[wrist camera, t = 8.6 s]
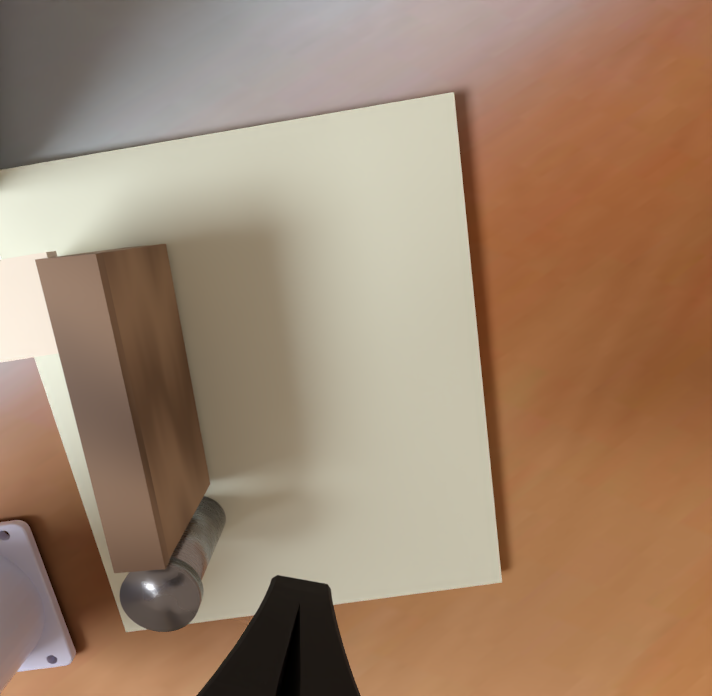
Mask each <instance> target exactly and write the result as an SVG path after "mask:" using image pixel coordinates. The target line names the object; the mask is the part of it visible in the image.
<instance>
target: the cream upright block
mask: <svg viewBox="0 0 712 696" xmlns="http://www.w3.org/2000/svg"><path fill="white" fill-rule="evenodd" d="M50 257H58V256H57V253H56V251H51V252H43V253H37V254H31V255H25V256H19V257H13V258H7V259H1V260H0V362H6V361H13V360H19V359H25V358H32V357H38V356H45V355H51V354H58V349H57V345H56V341H55V337H54V333H53V329H52V325H51V321H50V317H49V313H48V309H47V305H46V301H45V297H44V294H43V290H42V286H41V282H40V278H39V274H38V270H37V266H36V262H35V259H42V258H50Z"/></svg>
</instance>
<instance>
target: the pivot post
mask: <svg viewBox="0 0 712 696" xmlns="http://www.w3.org/2000/svg"><path fill="white" fill-rule="evenodd" d="M225 523H226V516H225V512H224V510H223V508H222V507H221V506H220V504H219V503H217V502H216V501H215V500H213V499H211V498H209V497H205V496H203V498H202V500H201V502H200V504H199V506H198V507H197V509H196V511H195V513H194V515H193V517H192V519H191V520H190V522H189V524H188V526H187V528H186V530H185V531H184V533H183V535H182V537H181V539H180V541H179V542H178V544H177V546H176V548H175V550H174V552H173V553H172V555H171V557H170V559H169V560H170V562H169V563H168V565H167V567H166V569H162V570H149V571H137V572H129V573H128V575H127V576H126V578H125V579H124V581H123V583H122V585H121V588H120V595H119V596H120V602H121V606H122V608H123V610H124V612H125V613H126V614H127V616H128V617H129V618H130V619H131V620H132V621H134V622H135V623H136V624H138V625H139V626H141V627H143V628H146V629H149V630H152V631H158V632H169V631H174V630H178V629H180V628H182V627H184V626H186V625H187V624H189V623H190V622H191V621H192V620H193V619H194V617H195V616H196V614H197V612H198V609H199V607H200V604H201V602H202V599H203V593H204V589H203V584H202V578H203V576H204V573H205V571H206V569H207V566H208V564H209V562H210V559H211V557H212V555H213V552H214V550H215V547H216V545H217V543H218V540H219V538H220V536H221V533H222V531H223V529H224V526H225Z"/></svg>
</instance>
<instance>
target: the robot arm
mask: <svg viewBox="0 0 712 696" xmlns="http://www.w3.org/2000/svg"><path fill="white" fill-rule="evenodd" d="M5 531H6V532H8V533H9V535H8V534H6V533H5ZM75 655H76V650H75V648H74V645H73V642H72V640H71V637H70V634H69V632H68V629H67V626H66V623H65V621H64V618H63V615H62V613H61V610H60V607H59V605H58V602H57V599H56V596H55V594H54V591H53V588H52V586H51V583H50V580H49V577H48V575H47V572H46V569H45V567H44V564H43V561H42V559H41V556H40V553H39V550H38V548H37V545H36V542H35V540H34V537H33V534H32V532H31V529H30V527H29V525H28V524H27V523H26V522H24V521H21V520H12V521H5V522H0V693H1V692H2V691H3V689H4V688H5V687H6V685H7V684H8V683H9V681H10V680H11V679H12V677H13V676H14V675H15V673H16V672H20V671H27V670H35V669H43V668H50V667H58V666H66V665H69V664H70V663H71V662H72V661H73V659H74V658H75ZM197 696H360V693H359V691H358V688H357V685H356V683H355V680H354V677H353V674H352V671H351V669H350V665H349V662H348V659H347V656H346V653H345V649H344V646H343V643H342V640H341V636H340V632H339V628H338V624H337V620H336V616H335V611H334V606H333V601H332V594H331V588H330V587H329V585H328V584H325V583H319V582H314V581H308V580H303V579H297V578H291V577H286V576H280V575H277V576H275V577H273V578H272V579H271V582H270V585H269V588H268V590H267V592H266V595H265V597H264V599H263V601H262V602H261V604H260V606H259V608H258V610H257V611H256V613H255V615H254V617H253V618H252V620H251V622H250V623H249V625H248V626H247V628H246V629H245V631H244V633H243V634H242V636H241V637H240V639H239V640H238V642H237V643H236V645H235V646H234V648H233V649H232V650H231V652H230V653H229V654H228V656H227V657H226V659H225V660H224V661H223V663H222V664H221V665H220V667H219V668H218V669H217V671H216V672H215V674H214V675H213V676H212V677H211V679H210V680H209V681H208V682H207V684H206V685H205V686H204V687H203V689H202V690H201V691H200V692H199V693H198V695H197Z"/></svg>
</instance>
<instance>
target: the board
mask: <svg viewBox="0 0 712 696" xmlns="http://www.w3.org/2000/svg"><path fill="white" fill-rule="evenodd" d="M157 244H166V247H167V252H168V258H169V263H170V269H171V274H172V279H173V285H174V290H175V296H176V301H177V306H178V312H179V317H180V323H181V328H182V333H183V339H184V344H185V350H186V355H187V360H188V366H189V371H190V377H191V382H192V387H193V393H194V398H195V404H196V409H197V414H198V420H199V425H200V431H201V436H202V441H203V447H204V452H205V458H206V463H207V468H208V474H209V479H210V485H209V487H208V489H207V491H206V493H205V495H204V496H205V497H209V498H211V499H213V500H215V501H216V502H217V503H219V504H220V506H221V507H222V508H223V510H224V512H225V516H226V523H225V526H224V529H223V531H222V533H221V536H220V538H219V540H218V543H217V545H216V547H215V550H214V552H213V555H212V557H211V559H210V562H209V564H208V566H207V569H206V571H205V573H204V576H203V578H202V584H203V589H204V593H203V599H202V602H201V604H200V607H199V609H198V612H197V614H196V616H195V617H194V619H193V620H192V621H191V622H190V623H189V624H192V623H200V622H207V621H215V620H222V619H230V618H237V617H245V616H252V615H255V613H256V611H257V610H258V608H259V606H260V604H261V602H262V601H263V599H264V597H265V595H266V592H267V590H268V588H269V585H270V582H271V579H272V578H273V577H275V576H277V575H280V576H286V577H291V578H297V579H303V580H308V581H314V582H319V583H325V584H328V585H329V587H330V588H331V594H332V601H333V605H335V604H343V603H351V602H358V601H366V600H373V599H381V598H388V597H396V596H403V595H411V594H418V593H426V592H434V591H441V590H449V589H456V588H464V587H471V586H479V585H486V584H494V583H501V582H502V576H501V566H500V556H499V546H498V536H497V525H496V515H495V505H494V495H493V485H492V474H491V464H490V454H489V444H488V434H487V423H486V413H485V403H484V393H483V383H482V373H481V362H480V352H479V342H478V332H477V322H476V311H475V301H474V291H473V281H472V271H471V260H470V250H469V240H468V230H467V220H466V209H465V199H464V189H463V179H462V169H461V159H460V148H459V138H458V128H457V118H456V108H455V97H454V92H451V93H445V94H439V95H434V96H428V97H422V98H416V99H410V100H404V101H399V102H393V103H387V104H381V105H375V106H369V107H364V108H358V109H352V110H346V111H340V112H334V113H329V114H323V115H317V116H311V117H305V118H299V119H294V120H288V121H282V122H276V123H270V124H264V125H259V126H253V127H247V128H241V129H235V130H230V131H224V132H218V133H212V134H206V135H200V136H195V137H189V138H183V139H177V140H171V141H165V142H160V143H154V144H148V145H142V146H136V147H130V148H125V149H119V150H113V151H107V152H101V153H95V154H90V155H84V156H78V157H72V158H66V159H60V160H55V161H49V162H43V163H37V164H31V165H25V166H20V167H14V168H8V169H2V170H0V257H1V259H7V258H13V257H19V256H25V255H31V254H37V253H43V252H51V251H56V253H57V256H65V255H73V254H80V253H88V252H95V251H103V250H110V249H117V248H125V247H136V246H146V245H157ZM34 358H35V361H36V364H37V367H38V370H39V373H40V376H41V379H42V382H43V385H44V388H45V391H46V394H47V397H48V400H49V403H50V406H51V409H52V412H53V415H54V418H55V421H56V424H57V427H58V430H59V433H60V436H61V439H62V442H63V445H64V448H65V451H66V454H67V457H68V460H69V463H70V466H71V469H72V472H73V475H74V478H75V481H76V484H77V487H78V490H79V493H80V496H81V499H82V502H83V505H84V508H85V511H86V514H87V517H88V520H89V523H90V526H91V529H92V532H93V535H94V538H95V541H96V544H97V547H98V550H99V553H100V556H101V559H102V562H103V565H104V568H105V571H106V574H107V577H108V580H109V583H110V586H111V589H112V592H113V595H114V598H115V601H116V604H117V607H118V610H119V613H120V616H121V619H122V622H123V625H124V628H125V631H126V632H132V631H139V630H147V629H146V628H143V627H141V626H139V625H138V624H136V623H135V622H134V621H132V620H131V619H130V618H129V617H128V616H127V614H126V613H125V612H124V610H123V608H122V606H121V602H120V596H119V595H120V588H121V585H122V583H123V581H124V579H125V578H126V576H127V575H128V573H129V572H124V573H114V571H113V567H112V563H111V559H110V555H109V551H108V547H107V543H106V539H105V535H104V531H103V527H102V523H101V519H100V515H99V511H98V507H97V503H96V499H95V495H94V491H93V488H92V484H91V480H90V476H89V472H88V468H87V464H86V460H85V456H84V452H83V448H82V444H81V440H80V436H79V432H78V428H77V424H76V420H75V416H74V412H73V408H72V404H71V400H70V396H69V392H68V389H67V385H66V381H65V377H64V373H63V369H62V365H61V361H60V357H59V353H58V354H51V355H45V356H38V357H34Z"/></svg>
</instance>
